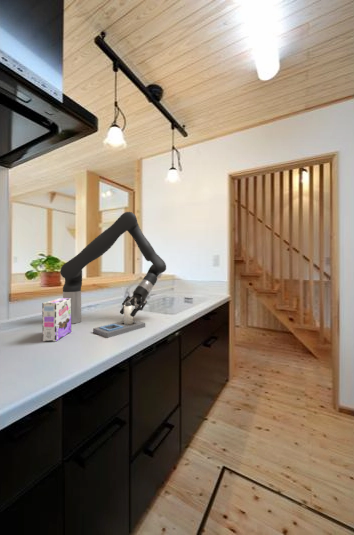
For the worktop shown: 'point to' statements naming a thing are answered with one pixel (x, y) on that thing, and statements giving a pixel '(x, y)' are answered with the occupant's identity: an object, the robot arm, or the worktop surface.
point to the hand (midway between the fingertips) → (126, 314)
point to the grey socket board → (117, 328)
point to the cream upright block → (128, 313)
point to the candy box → (56, 319)
